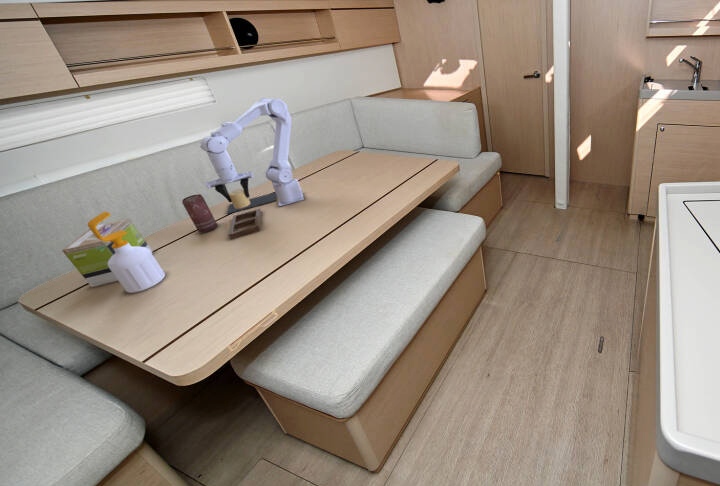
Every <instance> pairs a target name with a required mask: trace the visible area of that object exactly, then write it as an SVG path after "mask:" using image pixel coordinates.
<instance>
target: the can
mask: <svg viewBox="0 0 720 486" xmlns="http://www.w3.org/2000/svg"><path fill="white" fill-rule="evenodd" d="M181 201H182V202H181V203H182V205H183V207H184V209H185V211H186V213H187V215H188V216H189V218H190V220H191V221H192V223H193V225H194V227H195V228H196V230H197V232H198V233H200V234H206V233H209V232H212V231H214V230H215V229H217V228H218V222H217V221H216V219H215V217H214V215H213V213H212V210H210V208H209V206H208V204H207V202H206V200H205V198H204V197H203V195H202V194H200V193H197V194H193V195H190V196H187V197H185V198H183V199H182V200H181Z"/></svg>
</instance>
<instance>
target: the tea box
mask: <svg viewBox="0 0 720 486" xmlns="http://www.w3.org/2000/svg"><path fill="white" fill-rule="evenodd" d="M96 229H97V230H98V232H99V233H100V235H101V236H102V237H105V236H107V235H110V234H112V233H115V232H117V231H120V230H123V231H125V232H127V234H125V235H123V238H121V239H122V241H124V240H127V241H128V243H129V244H130V246H132V247H135V246H139V247H146V248H148V249H149V250H150V252H151V253H152V254H153V253H154V251H153V249H152V248H151V246H150V245H149V244H148V243H147V241H146V240H145V238H144V237H143V235H142V234H141V232H140V231H139V230H138V228H137V226H136V225H135V224H134V223H133V221H132V220H131V218H129V217H128V218H125V219H120V220H116V221H112V222H106V223H102V224H97V225H96ZM114 244H115V243H114V242H110V241H108V242H105V241H102V240H100V239H98V238H96V237H95V235H94V234H93V232H92V231H91V230H90V228H89V229H88V230H86V231H85V232H84V233H82V234H80V235H79V236H78V237H77V238H76V239H74V241H72V242H71V243H69V244H68V245H67V246H66V247H64V248H62V250H61V252H63V255H64V256H66V258H67V259H68V260H69V261H70V262H71V264H72V265H73V267H75V269H76V270H77V271H78V273H79V274H80V275H81V276H82V278H84V280H85V281H86V282H87V284H88V285H89V286H90V287H91V288H94V287H98V286H103V285H107V284H110V283H114V282H119V281H118V279H117V278H116V277H115V275H114V274H113V272H112V271H111V270H110V268H109V267H108V261H109V259H110V258H111V257H112V256H113V255H114V254H115V251H114V249H113V247H112V245H114Z"/></svg>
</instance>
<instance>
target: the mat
mask: <svg viewBox="0 0 720 486" xmlns="http://www.w3.org/2000/svg"><path fill="white" fill-rule="evenodd" d="M248 199H249V201H250V205H248V206H246V207H244V208H240V209H236V208H235V207H234V205H233V203H230V204H229V205H228V209H227V211H226V214H227V215H230V214H233V213H237V212H241V211H244V210H249V209H252V208H256V207H260V206H263V205H266V204H271V203H274V202H277V199H278V197H277V195H276V192H275V191H274V192H271V193H267V194H263V195H260V196H256V197H253V198H248Z"/></svg>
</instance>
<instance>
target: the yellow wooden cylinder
mask: <svg viewBox="0 0 720 486" xmlns="http://www.w3.org/2000/svg"><path fill="white" fill-rule="evenodd" d="M228 193H229V194H228V195H229V197H230V199H231V201H232V202H231V204H233V205H234V207H235V208H236V209H240V208H244V207H246V206H248V205H250V201H249V199H250V198H247V196H246V194H245V191H244V189H243V188H239V189H234V190H232V191H230V192H228Z"/></svg>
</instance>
